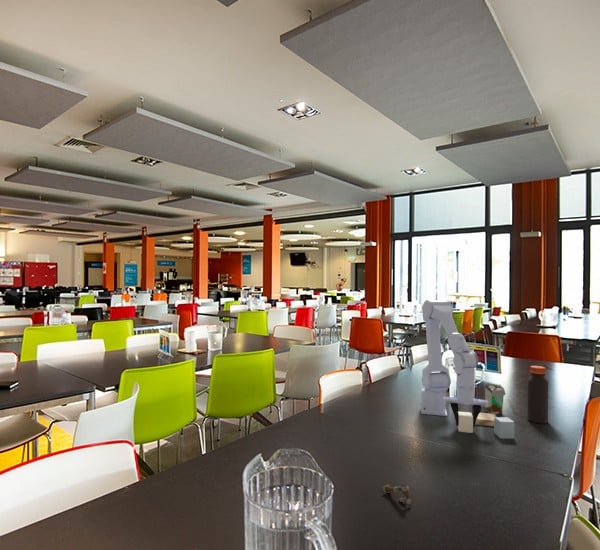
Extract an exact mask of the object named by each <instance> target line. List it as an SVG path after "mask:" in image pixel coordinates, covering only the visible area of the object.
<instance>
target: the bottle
mask: <svg viewBox="0 0 600 550" xmlns="http://www.w3.org/2000/svg"><path fill="white" fill-rule="evenodd" d="M529 369H530V371H529V372H530V377H528V378H527V379H526V380H527V386H526V387H527V388H526V391H527V392H526V395H527V401H526V404H527V405H526V407H527V410H526V416H527V417H526V419H527V421H529V422H531V423H535V424H542V425H543V424H545V425H546V424H548V423H549V380H548V379H547V378H546V377H545V376H546V367H545V366H540V365H530V368H529Z"/></svg>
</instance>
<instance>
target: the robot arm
mask: <svg viewBox="0 0 600 550" xmlns="http://www.w3.org/2000/svg"><path fill="white" fill-rule="evenodd" d="M453 310H454V307H453V305H452V303H451V301H450V300H449V299H445V300H442V299H441V300H440V299H437V300H435V299H434V300H433V299H426V300H425V301H424V302H423V304H422V305H421V311H422V321H423V322H425V332H426V333H425V335H426V346H427V348H426V349H427V358H428V359H427V361H428V364H427V365H426V366H425V367H424V368H423V369H422V370H421V372H422V373H421V374H422V375H421V385H422V386H423V388H421V389H420V391H421V392H420V393H421V395H420V401H421V402H420V403H419V404H420V405H419V407H420V409H421V411H420V412H421V414H422V415H423V414H424V415H430V416H431V415H433V416H443V417H448V412H447V408H446V406H447V404H449V405H450V408H451V410H452V413H453V415H454V420H455V425H456V426H457V427H458V426H459V421H458V412H459V409H460V408H459V405H461V406H462V405H463V406H471V413H472V415H473V429H474V428H475V426H476V425H475V423H476V419H477V417H478V415H479V413H482V412H481V411H482V407H484V408H485V407H488V401H487V400H485V399H480V398H475V369H476V368H478V366H479V357H478V355H477V352H475V351H474V350H472V348H470V347H469V345H468V343H467V341H466V339H465V337H464V335H463V334H462V333H459V331H458V328H457V326H456V323H455V321H454V318H453V312H454V311H453ZM440 324H441V325H442V327H443V328H444V330H445V332H446V333H447V335H448V338H447V343H448V345H449V347H450V349H451V352H452V354H453V358H452V361H453V365H454V372H455V373H456V396H447V395H446V394H447V393H446V392H447V391H448V389H449V388H450V386H451V384H452V382H451V381H452V380H451V377H450V372H449V369H448V368H447V367H446V366H445V365H443V358H442V347H441V346H442V345H441V333H440V332H441V331H440Z"/></svg>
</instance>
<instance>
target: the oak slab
mask: <svg viewBox="0 0 600 550" xmlns="http://www.w3.org/2000/svg"><path fill="white" fill-rule="evenodd" d="M494 417H497V416H496V415H495V414H489V413H487V412H486V413H485V412H480V413H479V415H478V417H477V419H476V423H475V426H476V425H477V426H487V427H494Z"/></svg>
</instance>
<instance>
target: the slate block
mask: <svg viewBox="0 0 600 550" xmlns="http://www.w3.org/2000/svg"><path fill="white" fill-rule="evenodd" d="M493 427H494V428H493V431H494V434H495V436H497V437H498V438H499V439H512V440H513V439H515V421H514V420H512V419H511V418H509V417H508V416H507V417H505V416H504V417H503V416H502V417H501V416H500V417H499V416H496V417H494V426H493Z"/></svg>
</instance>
